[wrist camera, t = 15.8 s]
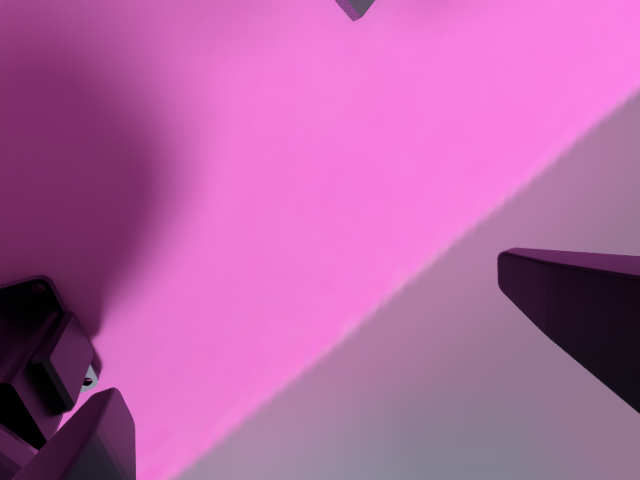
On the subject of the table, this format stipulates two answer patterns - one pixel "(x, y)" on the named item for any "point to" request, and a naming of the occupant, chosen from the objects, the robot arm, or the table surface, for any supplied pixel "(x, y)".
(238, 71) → the table surface
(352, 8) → the ink pad
